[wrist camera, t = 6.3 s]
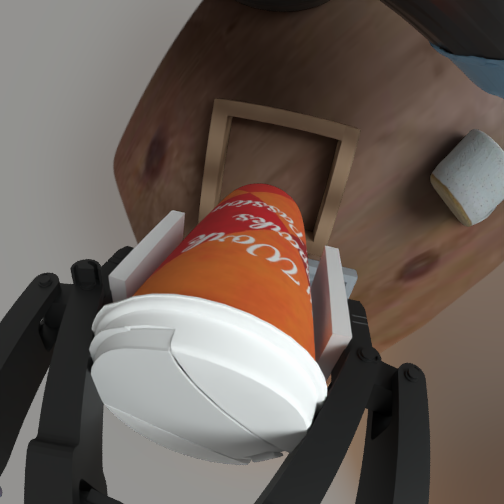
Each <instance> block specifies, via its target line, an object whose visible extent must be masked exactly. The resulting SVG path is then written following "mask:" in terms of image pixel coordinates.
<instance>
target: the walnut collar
mask: <svg viewBox="0 0 504 504" xmlns="http://www.w3.org/2000/svg"><path fill="white" fill-rule="evenodd" d="M232 117H239V118H245V119H251V120H256V121H261V122H267V123H272V124H276V125H281V126H286V127H290V128H295V129H299V130H303V131H307V132H311V133H315V134H319V135H323V136H327V137H331V138H334V139H338V143H337V147H336V151H335V155H334V158H333V162H332V166H331V170H330V173H329V177H328V181H327V184H326V188H325V192H324V195H323V199H322V202H321V206H320V209H319V213H318V216H317V220H316V223H315V226H314V230H313V232H311V231H307V230H304V231H305V238H306V247H307V254H312V255H316V256H320V257H321V256H322V253H323V250H324V247H325V246H327V244H328V241H329V238H330V234H331V231H332V228H333V225H334V222H335V219H336V216H337V213H338V209H339V206H340V203H341V200H342V196H343V193H344V190H345V186H346V183H347V179H348V176H349V172H350V169H351V165H352V162H353V158H354V154H355V151H356V147H357V143H358V140H359V136H360V132H361V130H359V129H358V128H355V127H352V126H349V125H345V124H342V123H338V122H335V121H331V120H327V119H323V118H319V117H316V116H311V115H307V114H303V113H299V112H294V111H290V110H285V109H281V108H276V107H271V106H265V105H260V104H255V103H249V102H243V101H236V100H230V99H223V98H215V99H214V106H213V112H212V118H211V125H210V131H209V138H208V145H207V152H206V160H205V167H204V175H203V183H202V191H201V200H200V209H199V218H198V224H199V223H200V222H201V221H202V220H203V219H204V218H205V217H206V216H207V215H208V214H209V213H210V212H211V211H212V210H213V209H214V208H215V207H216V206H217V205H218V204H219V200H220V193H221V186H222V179H223V173H224V166H225V160H226V153H227V147H228V141H229V135H230V129H231V123H232Z"/></svg>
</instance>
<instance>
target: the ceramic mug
mask: <svg viewBox="0 0 504 504" xmlns="http://www.w3.org/2000/svg"><path fill="white" fill-rule="evenodd" d="M430 181H431V184H432V185H433V187H434V188H435V190H436V191H437V193H438V194H439V195H440V197H441V198H442V199H443V201H444V202H445V204H446V205H447V206H448V207H449V209H450V210H451V211H452V213H453V214H454V215H455V216H456V218H457V219H458V220H459V221H460V222H461V223H462V224H463V225H464V226H472V225H474V224H475V223H478V222H481V221H482V220H484V219H485V218H487V217H488V216H489V215H490V214H491V213H492V211H493V210H494V209H495V207H496V206H497V205H498V204H499V203H500V202H501V201H502V200H503V199H504V151H503V150H502V149H501V148H500V146H499V145H498V144H497V143H496V142H494V141H493V139H492V138H490V137H489V136H488V135H486V134H485V133H484V132H482V131H480V130H478V129H473V130H471V131H470V132H469V133H468V134H467V135H466V136H465V137H464V138H463V139H462V140H461V141H460V143H459V144H458V145H457V146H456V147H455V148H454V149H453V150H452V151H451V152H450V153H449V154H448V155H447V156H446V157H445V158H444V159H443V160H442V161H441V162H440V163H439V164H438V165H437V167H436V168H435V170H434V171H433V172H432V174H431V176H430Z"/></svg>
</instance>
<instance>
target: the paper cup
mask: <svg viewBox="0 0 504 504" xmlns="http://www.w3.org/2000/svg"><path fill="white" fill-rule="evenodd" d="M92 330H93V332H94V338H93V340H92V342H91V345H90V348H89V351H90V354H91V357H92V360H93V363H94V364H93V366H92V368H91V376H92V378H93V381H94V383H95V386H96V388H97V391H98V393H99V396H100V398H101V400H102V402H103V403H104V405H105V406H106V407H107V408H108V409H109V410H110V411H111V412H112V413H113V414H114V415H115V416H116V417H117V418H118V419H119V420H121V421H122V422H123V423H124V424H126V425H127V426H129V427H130V428H131V429H133V430H134V431H136V432H137V433H139V434H140V435H142V436H144V437H145V438H147V439H149V440H151V441H153V442H155V443H157V444H159V445H161V446H163V447H165V448H168V449H170V450H172V451H175V452H178V453H181V454H183V455H187V456H190V457H194V458H197V459H201V460H206V461H210V462H217V463H223V464H235V465H248V463H250V461H251V459H252V461H253V462H260V461H265V460H269V459H273V458H277V457H281V456H283V454H282V453H280V452H282V451H287V452H289V453H291V452H292V451H293V450H294V448H295V447H296V446H297V445H298V444H299V443H300V441H301V440H302V439H303V438H304V437H305V435H306V434H307V432H308V431H309V430H310V428H311V426H312V424H313V420H314V417H315V415H316V414H317V413H318V411H319V410H320V409H321V407H322V406H323V404H324V403H325V400H326V399H327V386H326V381H325V377H324V375H323V373H322V371H321V369H320V367H319V365H318V364H317V362H316V361H315V344H314V328H313V314H312V300H311V288H310V276H309V266H308V256H307V247H306V238H305V231H304V224H303V219H302V216H301V212H300V210H299V208H298V206H297V204H296V203H295V201H294V200H293V199H292V198H291V197H290V196H289V195H288V194H287V193H285V192H284V191H282V190H281V189H279V188H277V187H274V186H272V185H268V184H258V183H257V184H249V185H245V186H242V187H240V188H238V189H236V190H234V191H233V192H232V193H230V194H229V195H228V196H227V197H225V198H224V199H223V200H222V201H221V202H220V203H219V204H218V205H217V206H216V207H215V208H214V209H213V210H212V211H211V212H210V213H209V214H208V215H207V216H206V217H205V218H204V219H203V220H202V221H201V222H200V223H199V224H198V225H197V226H196V227H195V228H194V229H193V230H192V231H191V232H190V233H189V234H188V236H187V237H186V238H185V239H184V240H183V241H182V242H181V243H180V244H179V245H178V246H177V247H176V248H175V249H174V250H173V252H172V253H171V254H170V255H169V256H168V257H167V258H166V259H165V260H164V261H163V262H162V264H161V265H160V266H159V267H158V268H157V269H156V270H155V271H154V272H153V273H152V275H151V276H150V277H149V278H148V279H147V280H146V281H145V282H144V283H143V285H142V286H141V287H140V288H139V289H138V290H137V291H136V292H135V294H134V295H133V296H132V297H130V298H127V299H124V300H121V301H118V302H114V303H111V304H107V305H104V306H103V308H102V309H101V310H100V311H99V312H98V314H97V315H96V317H95V319H94V322H93V324H92Z"/></svg>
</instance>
